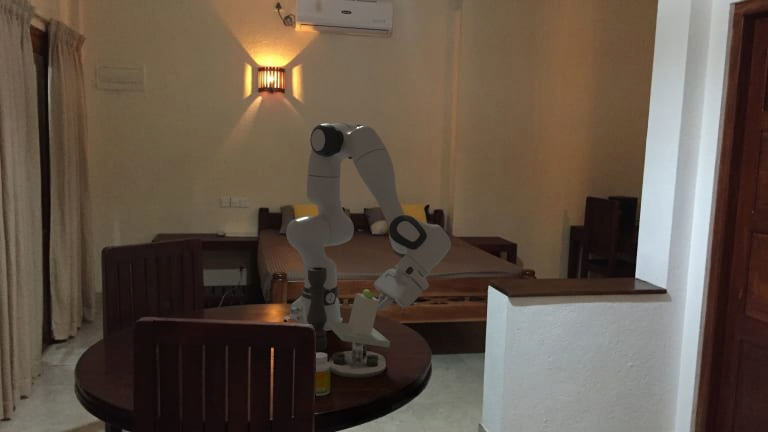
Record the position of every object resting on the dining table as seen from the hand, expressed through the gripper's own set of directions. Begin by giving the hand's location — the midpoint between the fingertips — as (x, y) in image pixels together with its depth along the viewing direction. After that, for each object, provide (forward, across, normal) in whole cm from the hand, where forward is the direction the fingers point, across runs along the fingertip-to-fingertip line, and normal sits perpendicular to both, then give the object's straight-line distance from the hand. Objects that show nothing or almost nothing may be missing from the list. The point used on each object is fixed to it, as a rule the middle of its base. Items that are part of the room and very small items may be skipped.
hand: (377, 308), depth 160 cm
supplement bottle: (+26, +13, -3) cm, 29 cm away
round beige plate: (+16, 0, +8) cm, 17 cm away
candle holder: (+21, -19, +3) cm, 28 cm away
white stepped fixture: (+9, 0, +1) cm, 9 cm away
